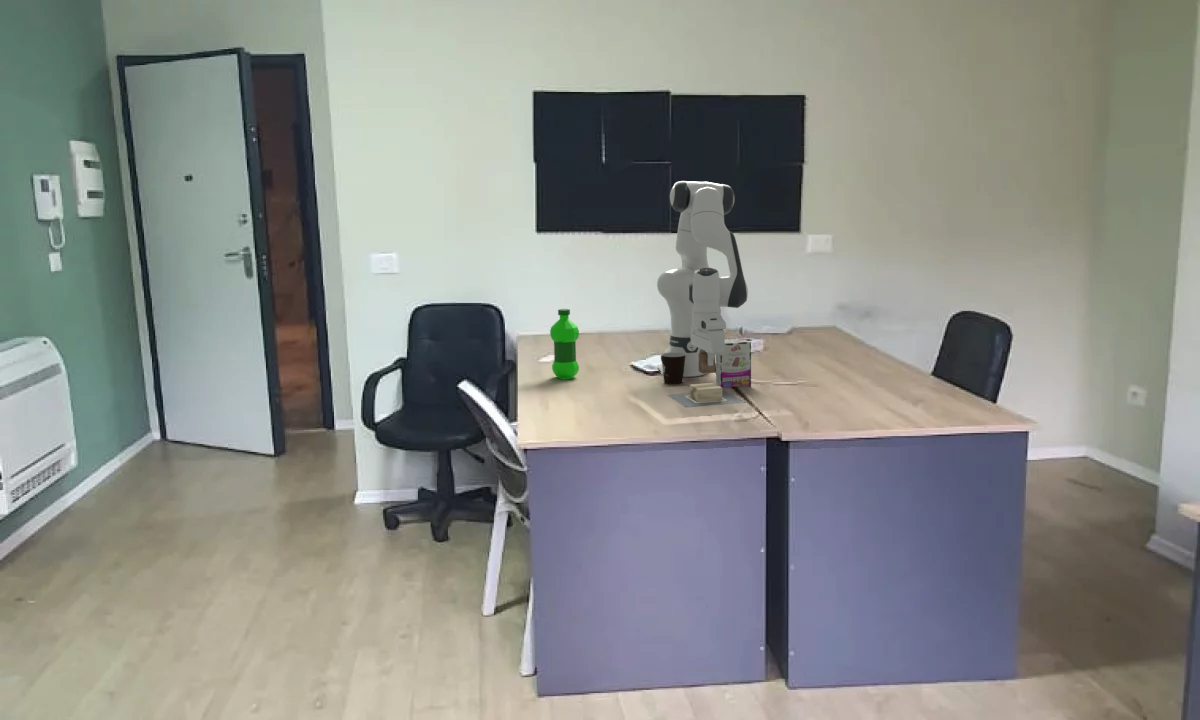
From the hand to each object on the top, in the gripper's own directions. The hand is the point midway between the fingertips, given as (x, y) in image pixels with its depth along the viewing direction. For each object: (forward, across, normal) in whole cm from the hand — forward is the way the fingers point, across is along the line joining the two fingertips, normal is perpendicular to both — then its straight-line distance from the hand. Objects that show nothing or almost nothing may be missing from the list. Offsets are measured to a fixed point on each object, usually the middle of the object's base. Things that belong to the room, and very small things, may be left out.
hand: (706, 363), depth 296 cm
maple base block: (+11, 0, 0) cm, 11 cm away
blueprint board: (+13, 0, 0) cm, 13 cm away
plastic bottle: (+12, -54, -34) cm, 65 cm away
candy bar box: (+13, -16, +16) cm, 26 cm away
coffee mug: (+13, -34, +1) cm, 37 cm away
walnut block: (+3, 0, 0) cm, 3 cm away
